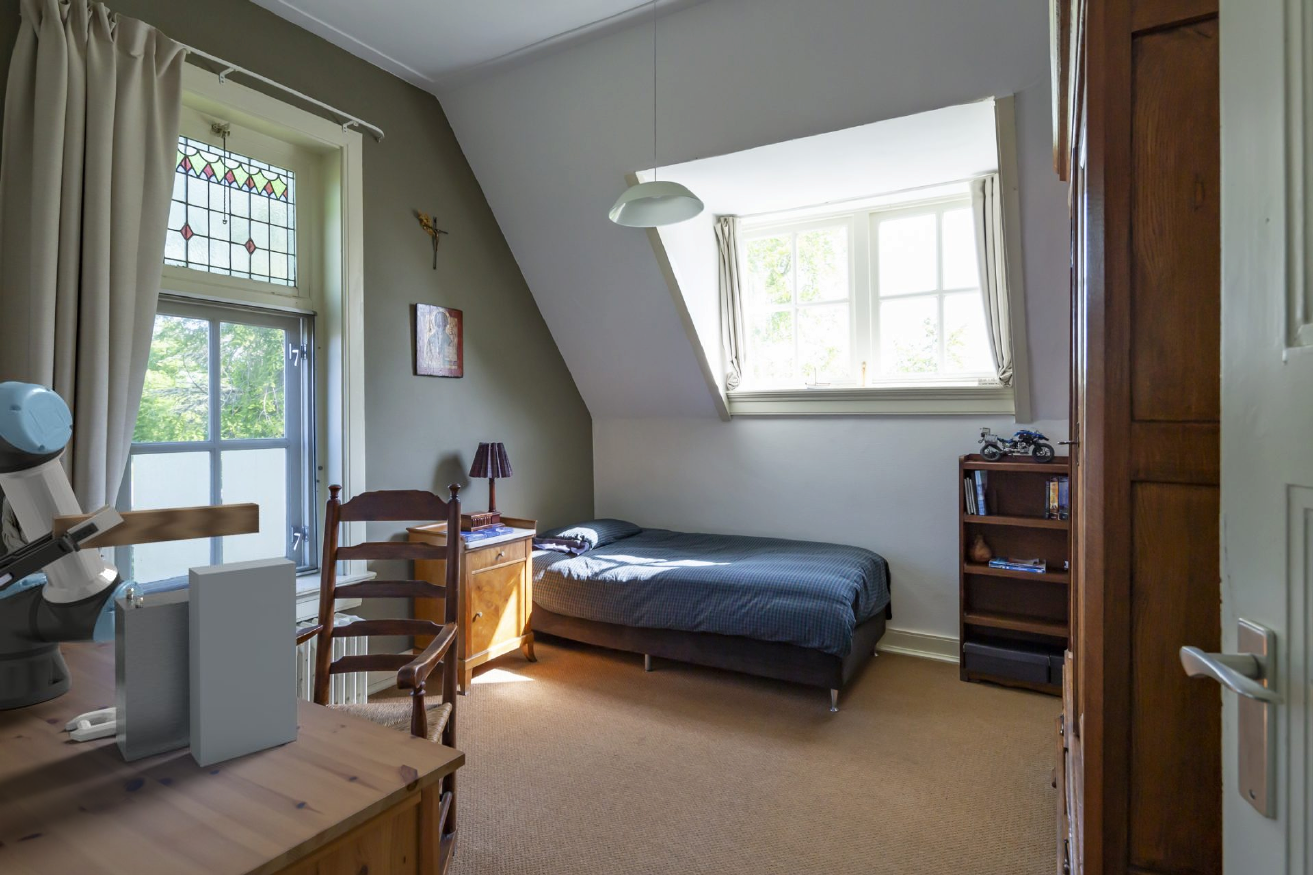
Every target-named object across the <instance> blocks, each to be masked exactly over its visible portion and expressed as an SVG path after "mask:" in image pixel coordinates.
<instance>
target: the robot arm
mask: <svg viewBox="0 0 1313 875" xmlns="http://www.w3.org/2000/svg"><path fill="white" fill-rule="evenodd" d="M72 425H73V419H72V414H71V412H70V409H69V406H68V405H67V403H66V402H65V400H64V399H63V398H62V397H61V396H60V395H59V394H58V393H57V392H55V391H54V390H53V389H51V388H50V387H46V386H45V385H41V384H36V383H26V382H21V381H5V382H0V486H1V488H2V491H3V492H4V495H5V497H6V499H7V501H8V502H9V504H10V506H11V509H12V510H13V512H14V515H15V516H16V519H17V521H18V523H19V525H20V527H21V529H22V532H23V534H24V535H25V537H26V540H27V541H28V543H26V544H24V545H22V546H20V547H19V548H16V549H15V550H13V551H11V552H9V553H7V554H4V555H3V556H1V557H0V711H1V710H9V709H16V708H21V707H25V706H31V705H34V704H38V703H42V702H45V701H48V700H51V699H54V698H57V697H59V696H62V695H64V694H66V693H67V692H69V691H70V689H71V688H72V674H71V671H70V670H69V668H68V666H67V663H66V661H65V658H64V656H63V655H62V651H61V648H60V645H61V644H60V643H62V644H63V643H78V644H79V643H82V644H84V643H90V644H91V643H92V644H93V643H95V644H101V643H105V642H115V611H114V599H117V598H124V597H126V589H128V588H134V596H139V595H145V594H144V591H143V587H142V585H141V584H140V583H139V582H138V581H134V580H133V579H126V580H123V579H122V577H121V575H120V573H119V570H118V568H117V566H116V565H115V564H114V563H112V562H109V561H103V558H102V556H101V554H100V550H99V548H91V549H81V548H80V547H79V546H78V545H80V544H82V543H84V542H86V541H88V540H89V539H91V538H93V537H95V536H97V535H99V534H101V533H102V532H104V531H106V530H108V529H110V528H112V527H113V526H115V525H117V524H119V523H121V522H123V521H124V520H123V519H122V517H121V516H120V515H119V513H118V512H119V511H118V510H117V509H116V508H115V507H114V506H113V505H112V506H111V505H110V504H109V503H107V504H105V505H103V506H101V507H99V508H97V509H95V510H93V511H91V512H90V513H88V514H93V513H99V514H97V515H95V516H93V517H91V518H89V519H87V520H86V521H84V522H82V523H80V524H78V525H76V526H74V527H72V528H70V529H68V530H67V531H68V532H69V533H68V532H67V533H63V534H61V536H59V537H57V538H54V539H52V516H64V515H79V514H83V512H82V510H81V507H80V504H79V503H78V500H77V497H76V495H75V493H74V491H73V489H72V486H71V484H70V482H69V479H68V477H67V474H66V472H65V471H64V467H63V466H62V463H61V461H60V459H61V457H62V456H63V455H64V453H66V452H65V451H66V449H67V448H66V444H68V442H69V440H70V438H71V436H72V432H73V430H72V428H71V427H70V426H72ZM69 534H70V535H69ZM40 569H41V571H42V572H41V573H40V572H39V573H36V572H38V571H40Z"/></svg>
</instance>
